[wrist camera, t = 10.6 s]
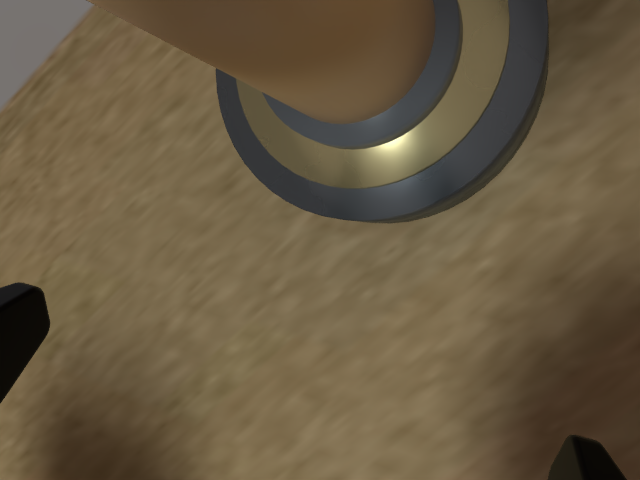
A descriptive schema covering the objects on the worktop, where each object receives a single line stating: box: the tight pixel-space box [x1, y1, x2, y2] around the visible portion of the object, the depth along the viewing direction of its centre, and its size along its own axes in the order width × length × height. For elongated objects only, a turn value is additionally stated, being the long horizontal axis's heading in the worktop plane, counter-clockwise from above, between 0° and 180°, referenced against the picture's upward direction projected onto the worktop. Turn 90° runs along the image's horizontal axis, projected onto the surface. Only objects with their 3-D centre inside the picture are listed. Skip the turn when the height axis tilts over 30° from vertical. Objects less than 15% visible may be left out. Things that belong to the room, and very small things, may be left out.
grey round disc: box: [216, 0, 549, 223], centre depth 19 cm, size 11×11×3 cm
